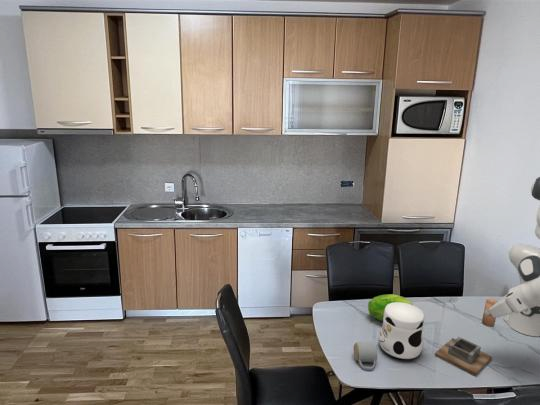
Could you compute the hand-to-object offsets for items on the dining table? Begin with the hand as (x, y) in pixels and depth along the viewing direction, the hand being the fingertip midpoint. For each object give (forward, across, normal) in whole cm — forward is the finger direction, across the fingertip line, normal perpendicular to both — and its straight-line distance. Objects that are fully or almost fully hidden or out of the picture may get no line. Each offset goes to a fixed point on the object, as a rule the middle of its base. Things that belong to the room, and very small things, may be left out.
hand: (488, 310), depth 157 cm
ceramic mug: (+35, +42, -4) cm, 54 cm away
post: (+4, 0, +5) cm, 6 cm away
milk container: (+31, +24, -2) cm, 39 cm away
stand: (+17, +8, +12) cm, 22 cm away
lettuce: (+42, +6, -13) cm, 45 cm away
